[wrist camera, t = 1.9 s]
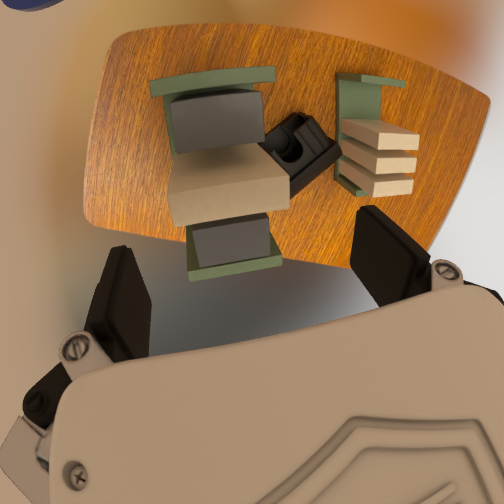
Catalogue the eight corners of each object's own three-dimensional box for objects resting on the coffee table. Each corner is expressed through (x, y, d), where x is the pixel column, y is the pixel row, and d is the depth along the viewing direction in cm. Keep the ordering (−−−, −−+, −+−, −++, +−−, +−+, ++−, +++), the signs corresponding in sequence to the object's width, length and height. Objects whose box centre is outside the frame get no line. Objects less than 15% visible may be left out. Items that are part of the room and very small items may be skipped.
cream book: (174, 152, 21) (166, 194, 14) (254, 140, 22) (289, 175, 15) (178, 175, 22) (174, 228, 15) (255, 162, 23) (290, 208, 16)
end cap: (273, 191, 39) (288, 213, 34) (240, 156, 35) (250, 173, 30) (326, 146, 37) (350, 161, 31) (297, 108, 33) (319, 115, 27)
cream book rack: (335, 72, 31) (378, 75, 23) (377, 77, 31) (424, 84, 23) (333, 179, 40) (369, 209, 32) (372, 176, 41) (410, 203, 33)
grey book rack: (171, 82, 28) (147, 81, 12) (229, 73, 29) (278, 65, 13) (187, 185, 36) (190, 286, 20) (239, 177, 37) (284, 269, 21)
